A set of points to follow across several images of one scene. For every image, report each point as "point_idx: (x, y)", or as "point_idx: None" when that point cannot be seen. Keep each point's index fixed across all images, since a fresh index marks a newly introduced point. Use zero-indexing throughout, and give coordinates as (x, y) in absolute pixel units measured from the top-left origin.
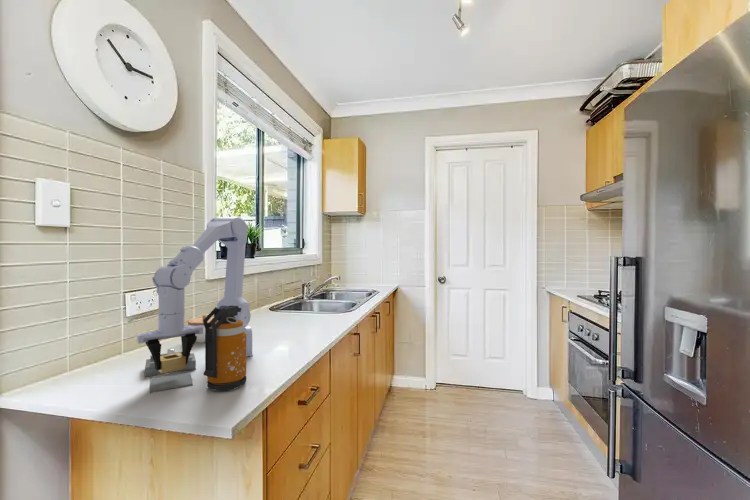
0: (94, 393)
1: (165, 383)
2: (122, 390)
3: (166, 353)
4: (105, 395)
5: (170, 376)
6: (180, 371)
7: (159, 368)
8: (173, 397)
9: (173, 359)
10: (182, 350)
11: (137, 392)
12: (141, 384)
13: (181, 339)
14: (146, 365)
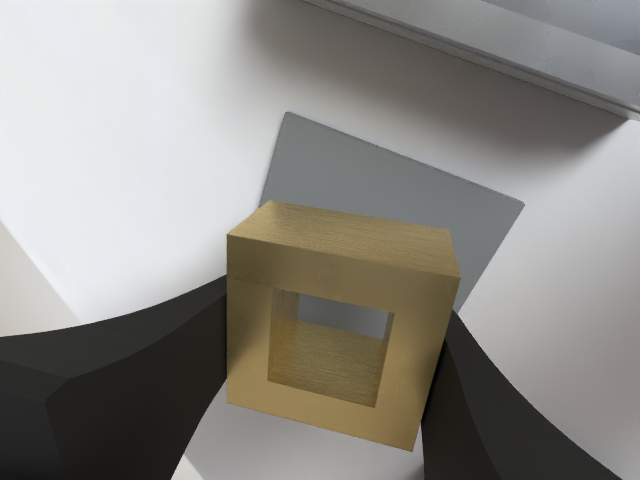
0: (29, 79)
1: None
2: (141, 153)
3: None
4: (77, 159)
5: (389, 171)
6: (514, 76)
7: None
8: None
9: (312, 421)
10: (452, 376)
11: (195, 245)
12: (230, 137)
13: (489, 463)
14: None
